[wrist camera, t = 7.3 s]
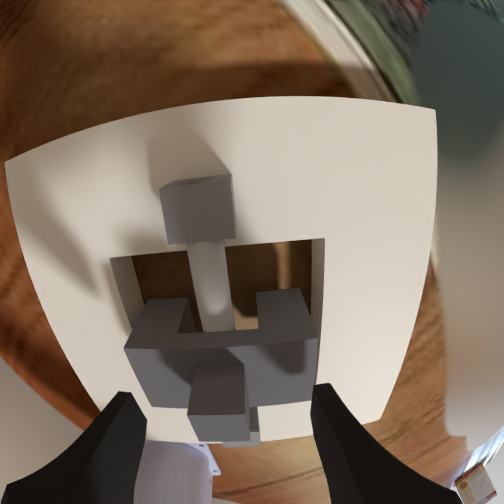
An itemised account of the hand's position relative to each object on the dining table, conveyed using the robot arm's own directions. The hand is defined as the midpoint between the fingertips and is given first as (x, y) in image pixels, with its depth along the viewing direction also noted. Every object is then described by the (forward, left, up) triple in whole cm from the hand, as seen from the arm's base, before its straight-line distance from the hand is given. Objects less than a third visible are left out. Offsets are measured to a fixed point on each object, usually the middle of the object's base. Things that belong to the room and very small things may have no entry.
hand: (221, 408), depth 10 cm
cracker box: (-103, -83, -7) cm, 132 cm away
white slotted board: (0, 0, -7) cm, 7 cm away
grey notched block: (0, 0, -5) cm, 5 cm away
